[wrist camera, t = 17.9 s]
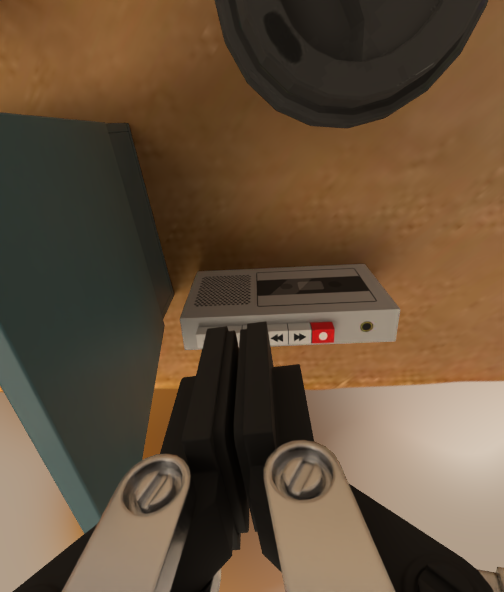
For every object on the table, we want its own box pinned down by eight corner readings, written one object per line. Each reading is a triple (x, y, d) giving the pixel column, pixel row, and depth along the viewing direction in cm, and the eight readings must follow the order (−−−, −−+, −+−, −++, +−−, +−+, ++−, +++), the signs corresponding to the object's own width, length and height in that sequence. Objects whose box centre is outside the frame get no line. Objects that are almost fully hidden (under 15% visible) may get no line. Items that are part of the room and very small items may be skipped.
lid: (103, 569, 13) (125, 564, 13) (-161, 106, 7) (-116, 99, 7) (155, 328, 29) (164, 326, 29) (93, 124, 23) (105, 122, 23)
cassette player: (364, 263, 33) (405, 315, 24) (361, 289, 35) (400, 349, 26) (197, 271, 34) (177, 325, 25) (200, 297, 35) (182, 357, 26)
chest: (6, 317, 36) (-34, 349, 31) (-75, 156, 29) (-143, 163, 24) (174, 295, 35) (161, 324, 30) (128, 123, 28) (101, 123, 23)
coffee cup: (196, 30, 26) (134, -70, 12) (324, -117, 22) (433, -476, 9) (295, 158, 29) (331, 188, 16) (417, 47, 26) (594, -33, 13)
